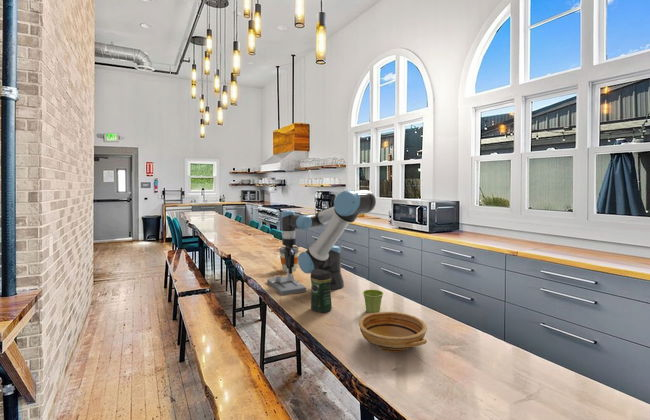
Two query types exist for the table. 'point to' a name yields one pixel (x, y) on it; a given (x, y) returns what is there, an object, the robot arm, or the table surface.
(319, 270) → the coffee jar
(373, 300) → the plant pot
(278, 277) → the fader
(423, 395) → the table surface
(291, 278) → the fader
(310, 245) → the robot arm
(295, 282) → the console
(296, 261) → the reusable coffee cup
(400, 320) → the ceramic bowl
